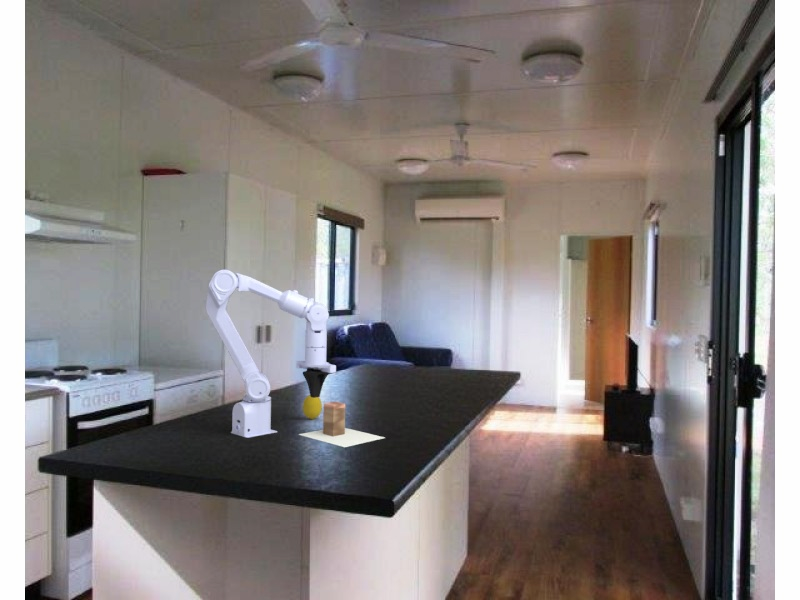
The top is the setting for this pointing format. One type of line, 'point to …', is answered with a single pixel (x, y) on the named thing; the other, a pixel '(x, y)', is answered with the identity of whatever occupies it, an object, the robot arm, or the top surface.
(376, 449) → the top surface
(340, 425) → the walnut block
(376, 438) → the mat
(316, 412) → the lemon
